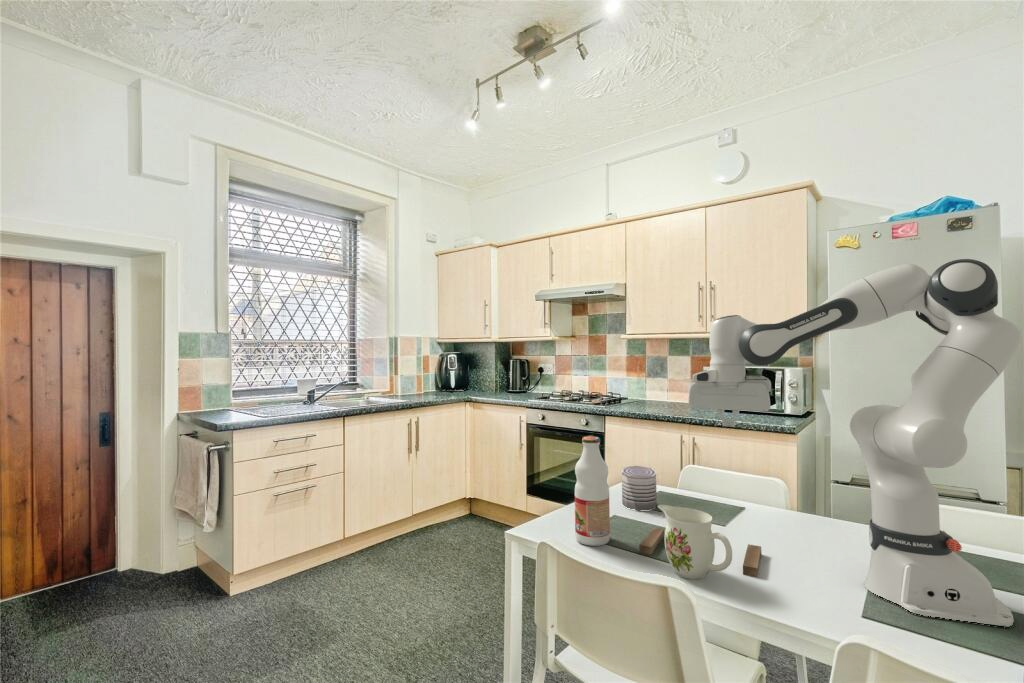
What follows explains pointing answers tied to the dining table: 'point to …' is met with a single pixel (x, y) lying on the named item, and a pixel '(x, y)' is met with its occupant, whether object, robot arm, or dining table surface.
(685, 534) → the pitcher
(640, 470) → the can
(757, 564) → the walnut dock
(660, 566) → the dining table surface
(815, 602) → the dining table surface
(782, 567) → the dining table surface
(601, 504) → the fruit juice
